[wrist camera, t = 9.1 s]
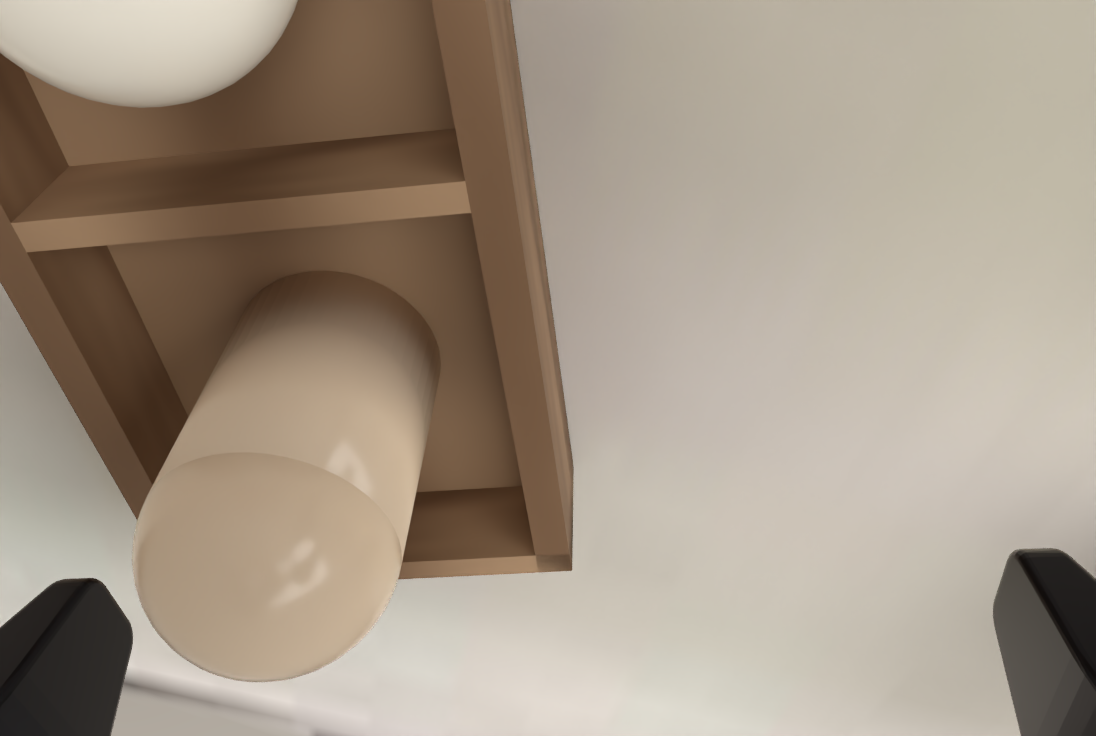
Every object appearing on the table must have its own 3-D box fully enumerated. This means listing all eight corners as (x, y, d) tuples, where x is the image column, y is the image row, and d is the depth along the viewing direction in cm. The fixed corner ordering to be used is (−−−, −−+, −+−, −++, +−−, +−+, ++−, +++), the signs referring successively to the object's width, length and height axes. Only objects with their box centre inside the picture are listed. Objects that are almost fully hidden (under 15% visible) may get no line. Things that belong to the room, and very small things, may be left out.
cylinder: (418, 262, 19) (337, 554, 13) (457, 425, 22) (406, 730, 16) (208, 279, 19) (31, 571, 13) (272, 437, 22) (151, 739, 16)
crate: (428, -597, 12) (382, -674, 9) (573, 466, 24) (572, 570, 21) (-237, -478, 13) (-459, -517, 10) (222, 488, 25) (177, 589, 22)
